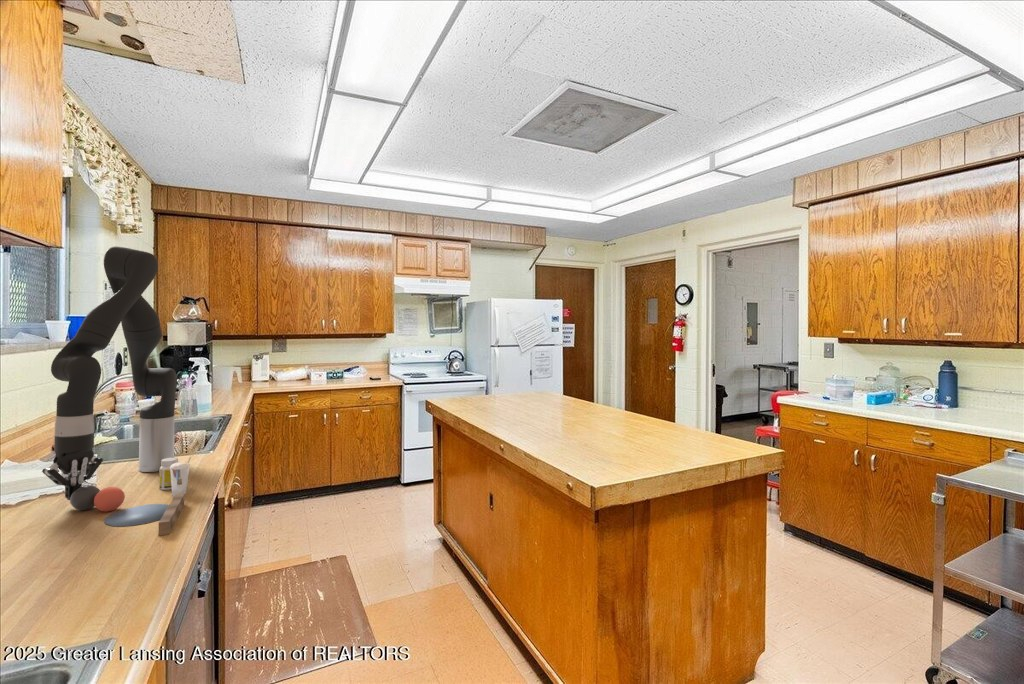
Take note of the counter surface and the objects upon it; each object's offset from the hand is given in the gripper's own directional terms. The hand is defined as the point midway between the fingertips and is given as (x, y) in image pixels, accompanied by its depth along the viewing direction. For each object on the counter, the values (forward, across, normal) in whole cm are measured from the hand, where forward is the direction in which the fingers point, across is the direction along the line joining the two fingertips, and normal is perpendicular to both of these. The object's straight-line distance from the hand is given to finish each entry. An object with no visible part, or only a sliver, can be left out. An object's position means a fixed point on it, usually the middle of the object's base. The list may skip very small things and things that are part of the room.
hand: (73, 499), depth 122 cm
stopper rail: (+2, +1, -30) cm, 30 cm away
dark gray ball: (-1, 0, -4) cm, 4 cm away
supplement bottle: (+2, +19, -9) cm, 21 cm away
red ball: (-1, +1, -10) cm, 10 cm away
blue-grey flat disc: (+2, +1, -20) cm, 21 cm away
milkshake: (+2, +16, -16) cm, 23 cm away
